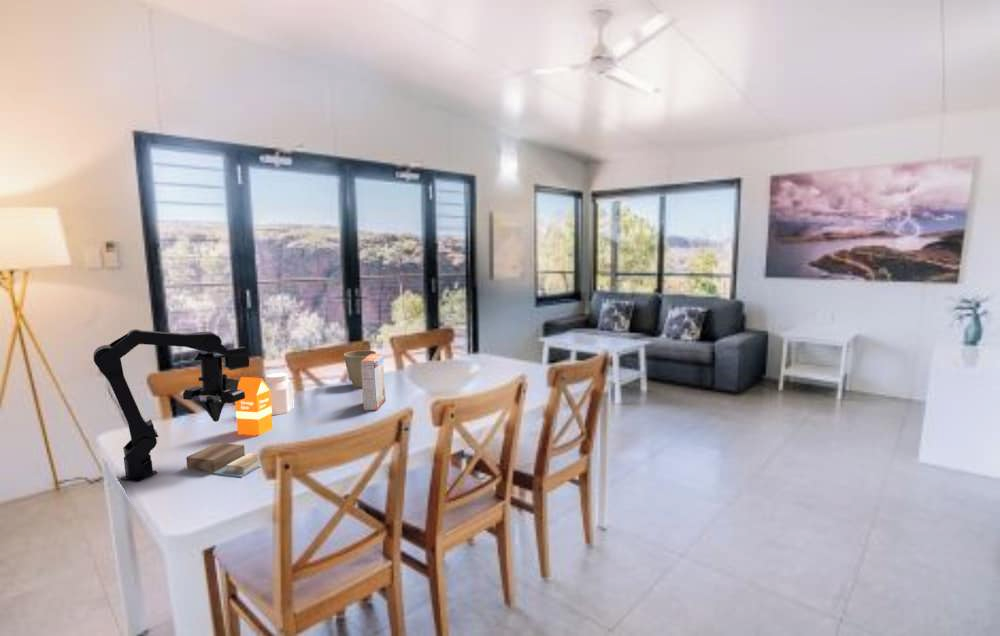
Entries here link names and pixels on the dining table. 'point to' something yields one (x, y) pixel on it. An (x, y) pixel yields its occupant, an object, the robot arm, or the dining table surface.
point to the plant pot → (356, 365)
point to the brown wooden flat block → (214, 457)
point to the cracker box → (373, 381)
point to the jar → (280, 393)
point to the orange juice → (254, 407)
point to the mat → (234, 474)
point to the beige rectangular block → (243, 463)
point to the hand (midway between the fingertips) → (216, 421)
